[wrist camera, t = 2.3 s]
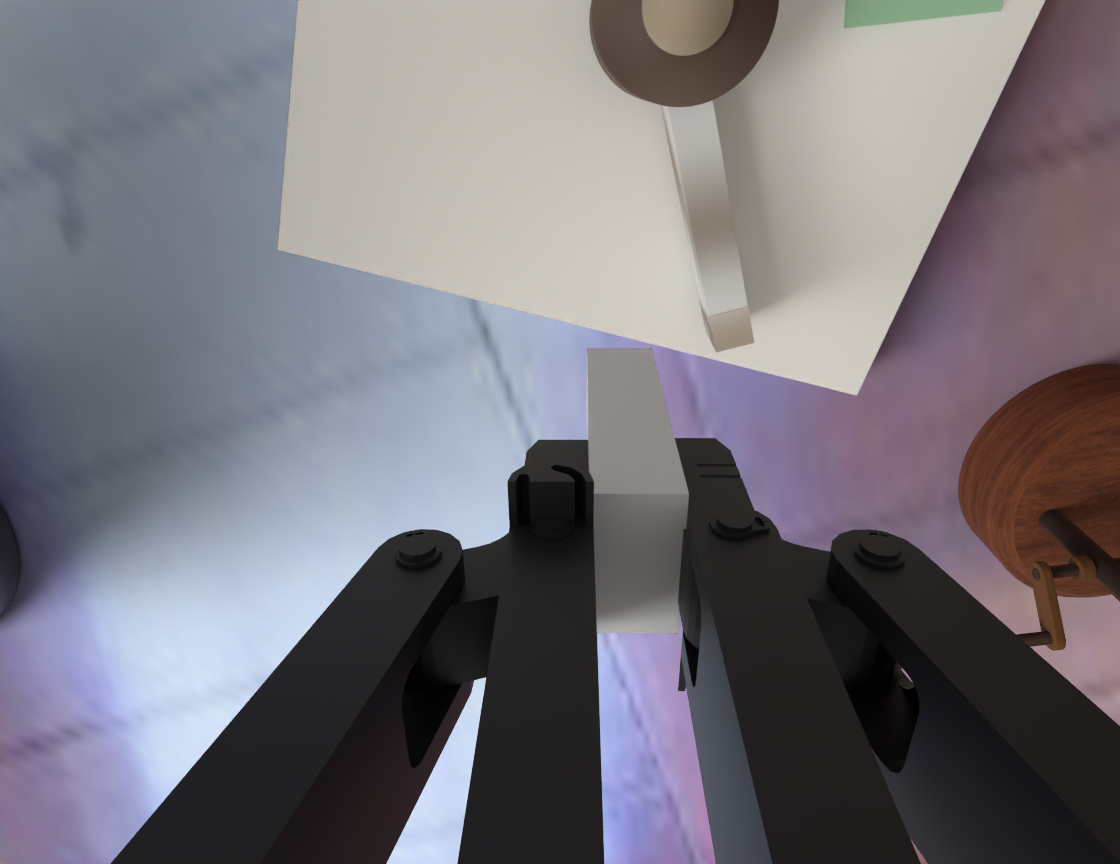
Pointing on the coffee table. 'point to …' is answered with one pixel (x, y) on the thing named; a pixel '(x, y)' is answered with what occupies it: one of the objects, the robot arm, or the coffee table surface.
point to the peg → (692, 121)
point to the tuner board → (641, 165)
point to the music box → (1051, 490)
